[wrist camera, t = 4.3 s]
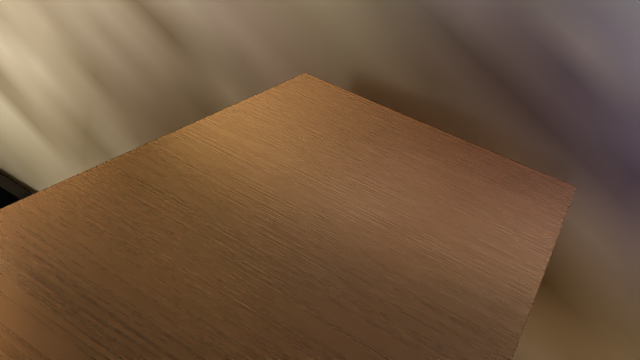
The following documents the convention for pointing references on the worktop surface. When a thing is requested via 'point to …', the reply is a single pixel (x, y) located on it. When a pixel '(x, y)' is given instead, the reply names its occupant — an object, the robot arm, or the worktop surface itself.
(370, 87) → the worktop surface
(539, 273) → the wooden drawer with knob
